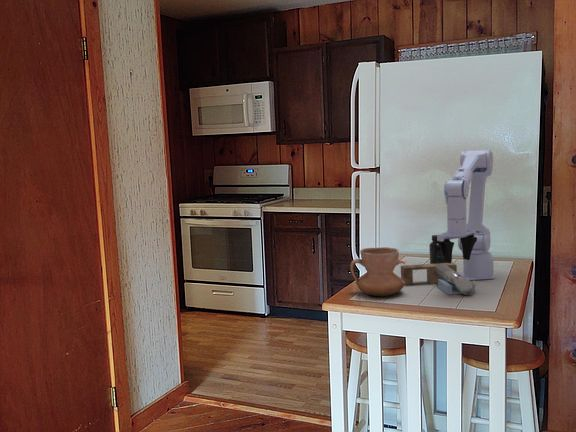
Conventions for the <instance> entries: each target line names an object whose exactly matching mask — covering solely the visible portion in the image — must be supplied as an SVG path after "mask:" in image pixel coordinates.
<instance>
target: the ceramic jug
mask: <svg viewBox="0 0 576 432" xmlns="http://www.w3.org/2000/svg"><path fill="white" fill-rule="evenodd" d="M359 251H360V258H355V259H352V261H351V262H350V272H351V275H352V276H353V279H354V280H355V284H356V286H357V287H358V289H359V291H361V292H362V293H363V294H366V295H369V296H372V297H373V296H374V297H389V296H393V295H395V294H398V293H399V292H401V291H402V290H403V288H404V287H405V286H404V285H405V282H404V281H403V280H402V279H401V276H399V275H398V274H395V272H394V271H395V268H396V267H397V266H399V265H400V264H403V265H406V263H407V260H406V259H404V258H400V259H399V256H400V255H399V254H400V253H399V252H400V251H399V249H398V248H395V247H389V246H388V247H385V246H384V247H383V246H382V247H365V248H362V249H361V248H360V250H359ZM356 264H360V265H361V266H362V267H363V268H364V269H365V270H366V273H365V274H364V275H363V276H362V277H361V276H360V278H359V277H358V275H357V273H356V269H355V266H356Z"/></svg>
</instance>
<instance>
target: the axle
mask: <svg viewBox="0 0 576 432" xmlns="http://www.w3.org/2000/svg"><path fill="white" fill-rule="evenodd" d="M435 273H436V275H438V276H439V277H441V278H442V279H443V280H445V281H446V282H448V283H449V284H450V285H452V286H453V287H455V288H456V289H457V290H459V291H460V292H462V293H463V294H462V295H465V296H470V295H472V294H474V293H473V291H474V289H475V290H476V284H475V283H474V282H472V280H468V279H466V278H465V277H463V276H462V275H460V274H461V273H459V272H458V271H457V272H456V271H454V270H453V269H451V268H450V267H448V266H447V265H445V264H443V263H441V264H438V265H437V266H436V268H435ZM474 284H475V285H474Z"/></svg>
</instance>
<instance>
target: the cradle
mask: <svg viewBox="0 0 576 432" xmlns="http://www.w3.org/2000/svg"><path fill="white" fill-rule="evenodd" d="M474 285H475V286H476V283H474ZM437 288H438V289H440V291H442V292H443V293H444V294H445V295H448V296H449V295H451V296H452V295H464V294H463V293H462V292H460V291H459V290H457V289H456V288H455V287H453V286H452V285H450V284H449V283H447V282H446V281H445V280H443V279H438V284H437ZM475 293H476V288H475V289H474V291H473V293H472V294H475Z"/></svg>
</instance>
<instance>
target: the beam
mask: <svg viewBox="0 0 576 432" xmlns="http://www.w3.org/2000/svg"><path fill="white" fill-rule="evenodd" d="M438 264H441V263H436V264H430V263H424V264H407V265H406V264H403V265H400V278H401V279H402V280H403V281H404V282H405V285H404V287H406V286H413V285H414V276H413V274H414V272H413V271H419V270H421V271H422V270H426V282H427V283H429V284H430V285H432V284H433V285H434V284H435V285H436V284H437V285H438V279H442V278H441V277H439V276H438V275H436V273H435V268H436V266H437V265H438ZM443 264H445V265H447V266H448V267H450V268H451V269H453V270H454V271H456V272H457V273H458V271H457V269H458V268H457V266H458V265H457V264H456V263H454V262H451V263H443ZM447 283H448V282H447Z"/></svg>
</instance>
